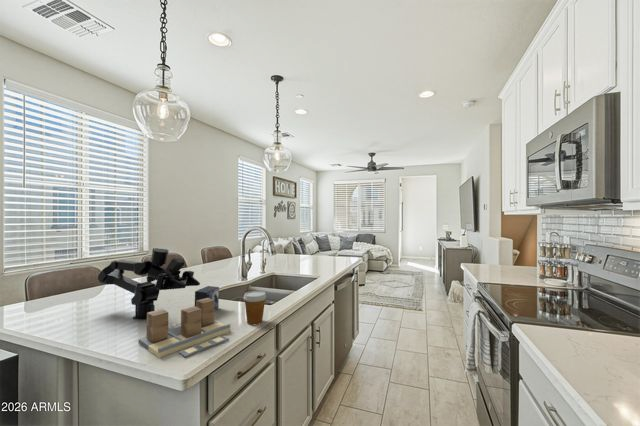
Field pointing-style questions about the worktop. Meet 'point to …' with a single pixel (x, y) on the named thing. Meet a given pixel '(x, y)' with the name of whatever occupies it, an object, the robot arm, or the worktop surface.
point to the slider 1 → (157, 325)
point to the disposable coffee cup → (254, 306)
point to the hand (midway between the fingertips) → (192, 285)
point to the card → (203, 346)
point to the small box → (208, 295)
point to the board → (183, 339)
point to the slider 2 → (206, 310)
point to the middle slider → (191, 321)
